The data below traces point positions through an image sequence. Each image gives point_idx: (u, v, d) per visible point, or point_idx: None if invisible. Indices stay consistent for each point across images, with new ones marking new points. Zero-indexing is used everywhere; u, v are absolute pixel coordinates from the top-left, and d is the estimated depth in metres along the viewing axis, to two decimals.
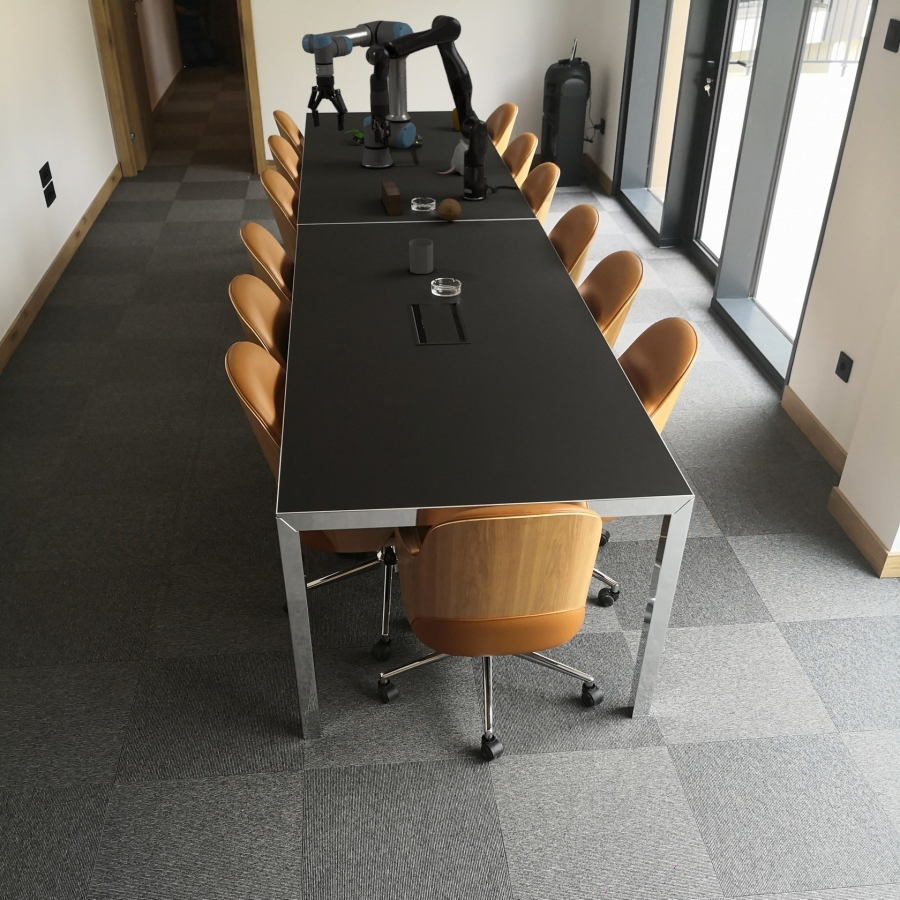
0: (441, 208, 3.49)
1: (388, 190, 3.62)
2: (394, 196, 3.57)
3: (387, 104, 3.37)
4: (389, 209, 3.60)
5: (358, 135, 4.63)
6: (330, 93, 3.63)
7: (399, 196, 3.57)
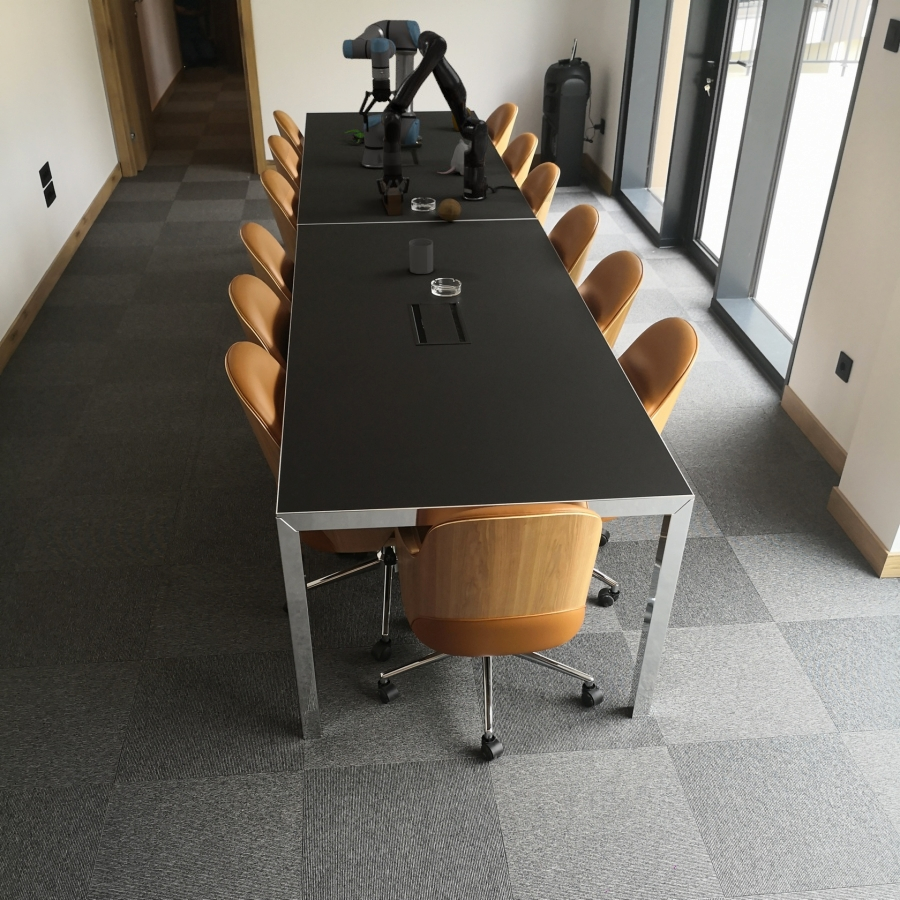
0: (441, 208, 3.49)
1: None
2: (394, 196, 3.57)
3: (385, 164, 3.51)
4: (389, 209, 3.60)
5: (358, 135, 4.63)
6: (389, 95, 3.70)
7: (399, 196, 3.57)
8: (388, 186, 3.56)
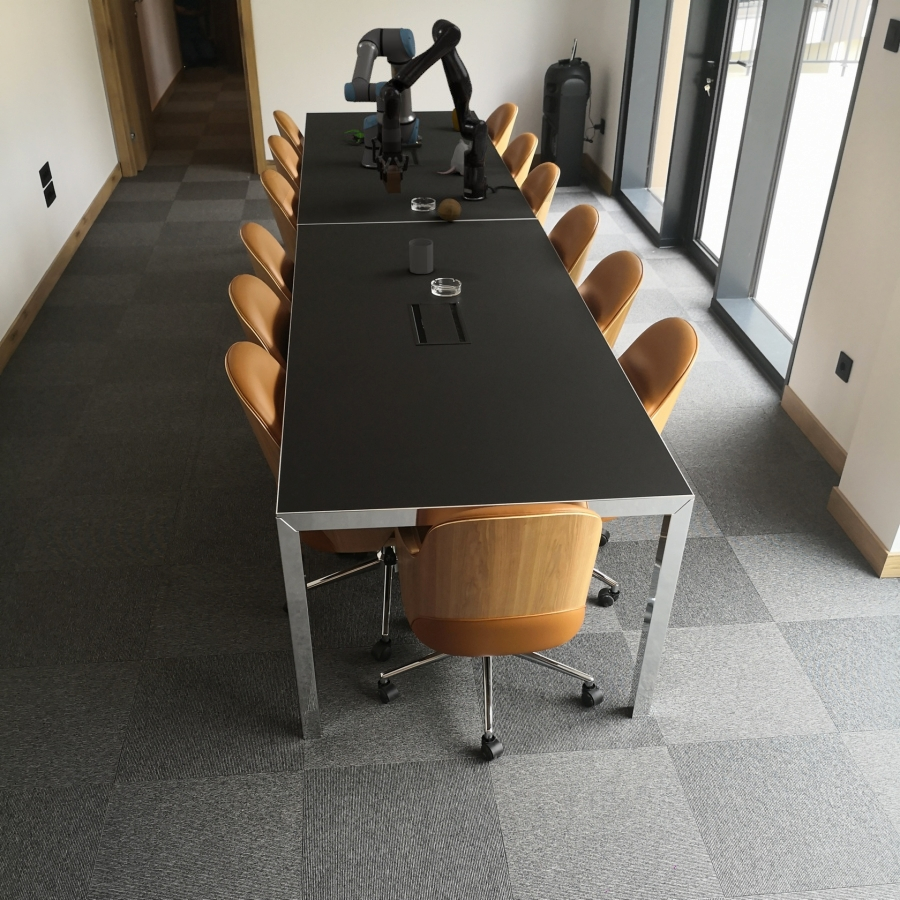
0: (441, 208, 3.49)
1: None
2: (393, 173, 3.52)
3: (384, 141, 3.46)
4: (388, 187, 3.55)
5: (358, 135, 4.63)
6: None
7: (398, 174, 3.53)
8: (387, 163, 3.51)
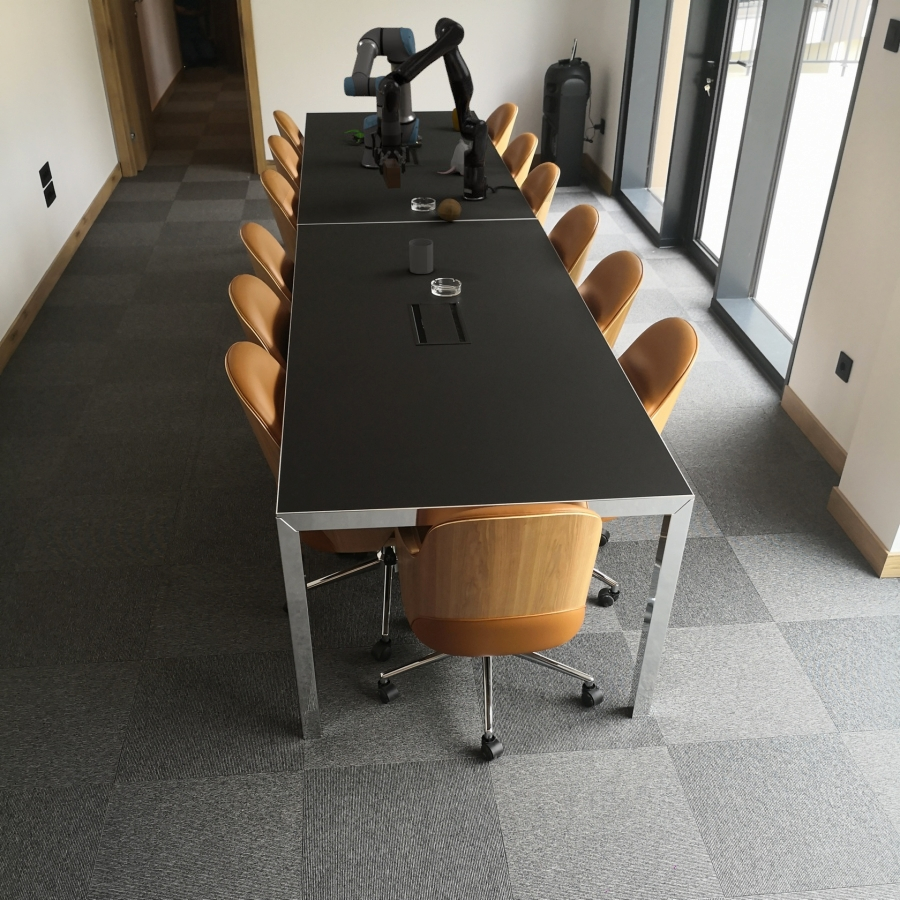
0: (441, 208, 3.49)
1: (387, 163, 3.56)
2: (393, 168, 3.51)
3: (383, 134, 3.44)
4: (388, 182, 3.54)
5: (358, 135, 4.63)
6: None
7: (398, 169, 3.52)
8: (385, 156, 3.49)
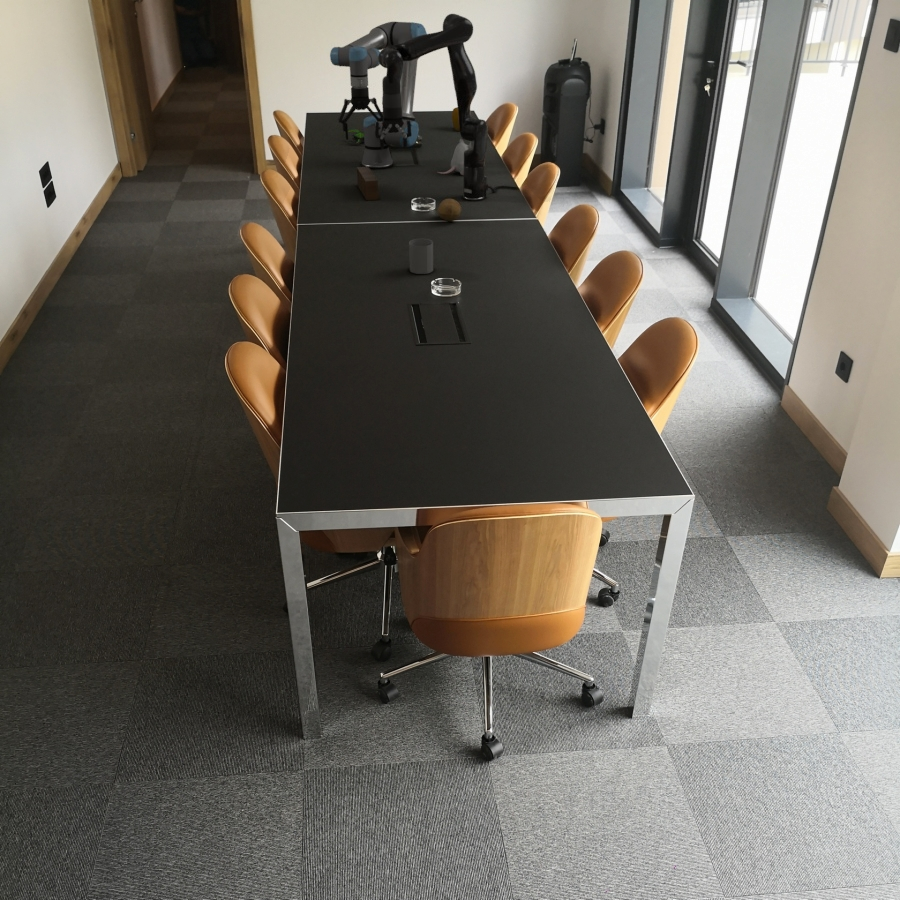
0: (441, 208, 3.49)
1: (365, 177, 3.79)
2: (371, 181, 3.75)
3: (384, 107, 3.34)
4: (367, 194, 3.77)
5: (358, 135, 4.63)
6: (368, 103, 3.75)
7: (376, 182, 3.75)
8: (386, 130, 3.38)
